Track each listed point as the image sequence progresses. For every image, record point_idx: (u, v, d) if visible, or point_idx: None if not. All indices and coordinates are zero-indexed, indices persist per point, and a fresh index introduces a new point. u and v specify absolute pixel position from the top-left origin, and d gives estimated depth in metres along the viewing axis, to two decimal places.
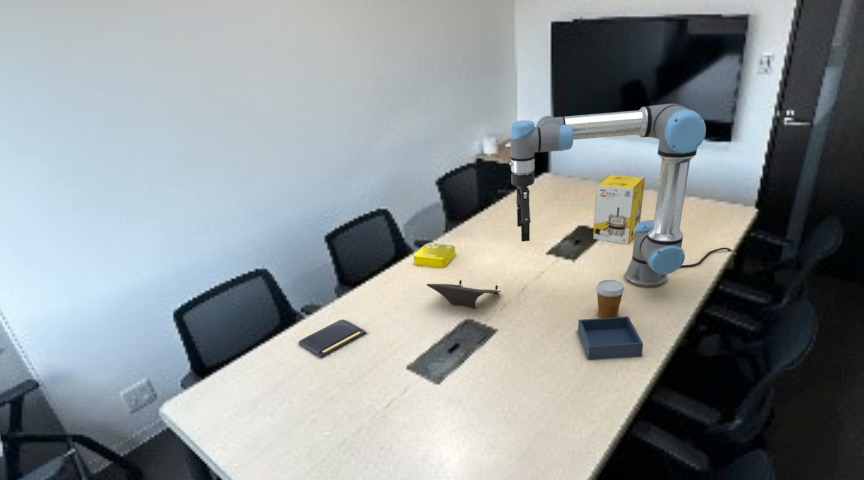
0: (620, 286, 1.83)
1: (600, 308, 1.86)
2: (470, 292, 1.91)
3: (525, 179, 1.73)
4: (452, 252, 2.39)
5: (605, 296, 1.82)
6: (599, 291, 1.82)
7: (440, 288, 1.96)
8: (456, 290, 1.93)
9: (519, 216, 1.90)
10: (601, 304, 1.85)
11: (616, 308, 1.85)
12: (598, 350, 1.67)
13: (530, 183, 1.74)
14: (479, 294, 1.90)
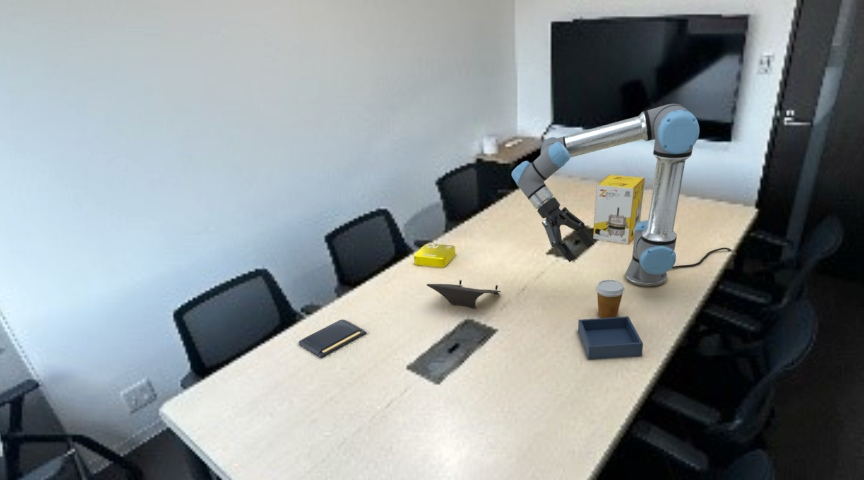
0: (620, 286, 1.83)
1: (600, 308, 1.86)
2: (470, 292, 1.91)
3: (543, 209, 1.81)
4: (452, 252, 2.39)
5: (605, 296, 1.82)
6: (599, 291, 1.82)
7: (440, 288, 1.96)
8: (456, 290, 1.93)
9: (582, 238, 1.89)
10: (601, 304, 1.85)
11: (616, 308, 1.85)
12: (598, 350, 1.67)
13: (550, 209, 1.81)
14: (479, 294, 1.90)
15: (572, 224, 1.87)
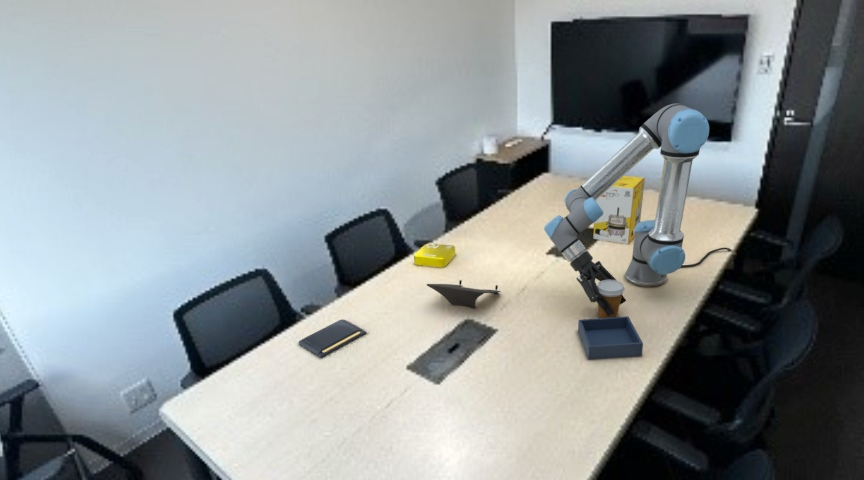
0: (620, 286, 1.83)
1: (600, 308, 1.86)
2: (470, 292, 1.91)
3: (576, 263, 1.84)
4: (452, 252, 2.39)
5: (605, 296, 1.82)
6: (599, 291, 1.82)
7: (440, 288, 1.96)
8: (456, 290, 1.93)
9: None
10: None
11: (616, 308, 1.85)
12: (598, 350, 1.67)
13: (583, 263, 1.83)
14: (479, 294, 1.90)
15: (604, 279, 1.88)
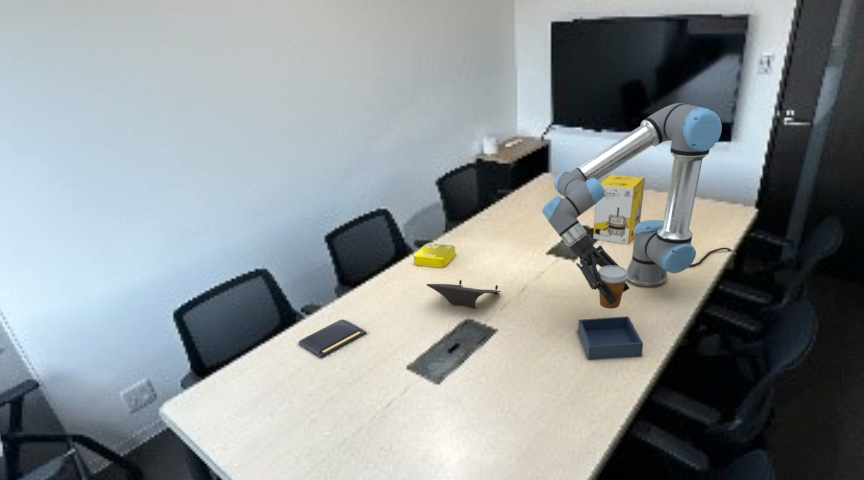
0: (623, 272, 1.70)
1: (601, 296, 1.74)
2: (470, 292, 1.91)
3: (575, 247, 1.71)
4: (452, 252, 2.39)
5: (607, 282, 1.69)
6: (601, 277, 1.70)
7: (440, 288, 1.96)
8: (456, 290, 1.93)
9: None
10: None
11: (619, 296, 1.72)
12: (598, 350, 1.67)
13: (583, 247, 1.70)
14: (479, 294, 1.90)
15: (606, 265, 1.75)
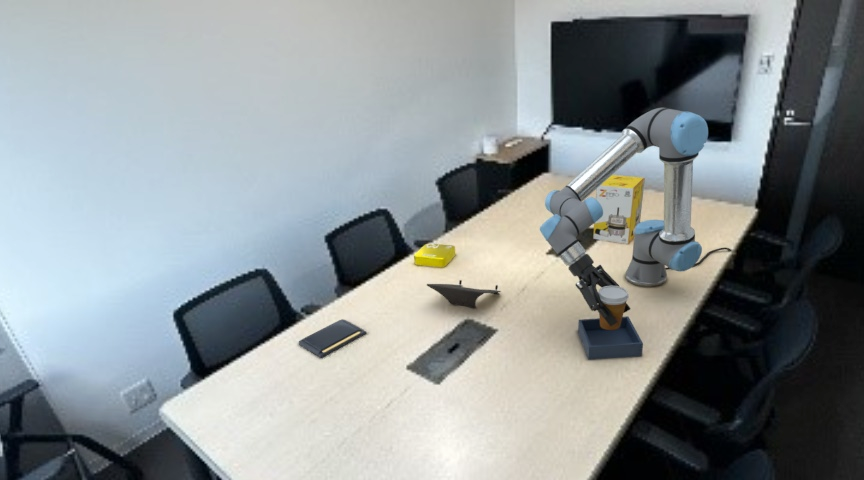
0: (624, 293, 1.65)
1: (601, 317, 1.68)
2: (470, 292, 1.91)
3: (574, 267, 1.65)
4: (452, 252, 2.39)
5: (607, 304, 1.63)
6: (601, 298, 1.64)
7: (440, 288, 1.96)
8: (456, 290, 1.93)
9: None
10: None
11: (619, 317, 1.66)
12: (598, 350, 1.67)
13: (582, 268, 1.64)
14: (479, 294, 1.90)
15: (606, 285, 1.69)
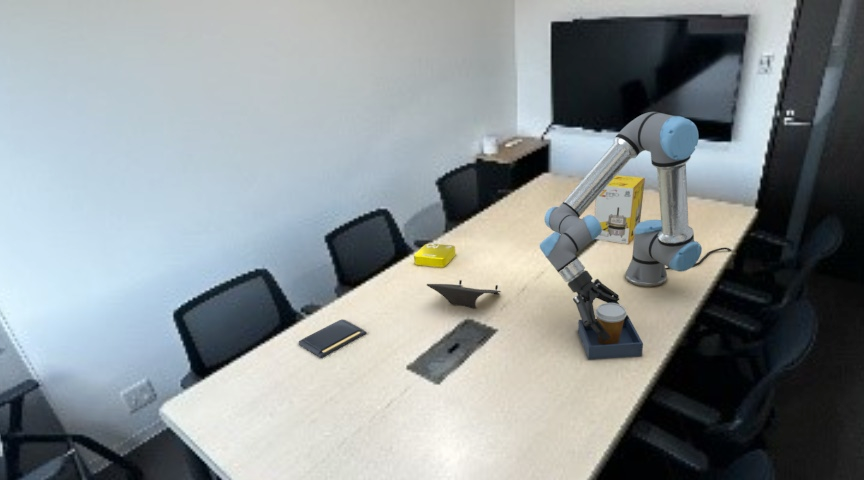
0: (622, 310, 1.68)
1: None
2: (470, 292, 1.91)
3: (574, 284, 1.68)
4: (452, 252, 2.39)
5: (605, 321, 1.67)
6: (599, 316, 1.67)
7: (440, 288, 1.96)
8: (456, 290, 1.93)
9: None
10: None
11: (617, 334, 1.70)
12: (598, 350, 1.67)
13: (582, 284, 1.67)
14: (479, 294, 1.90)
15: (605, 297, 1.73)
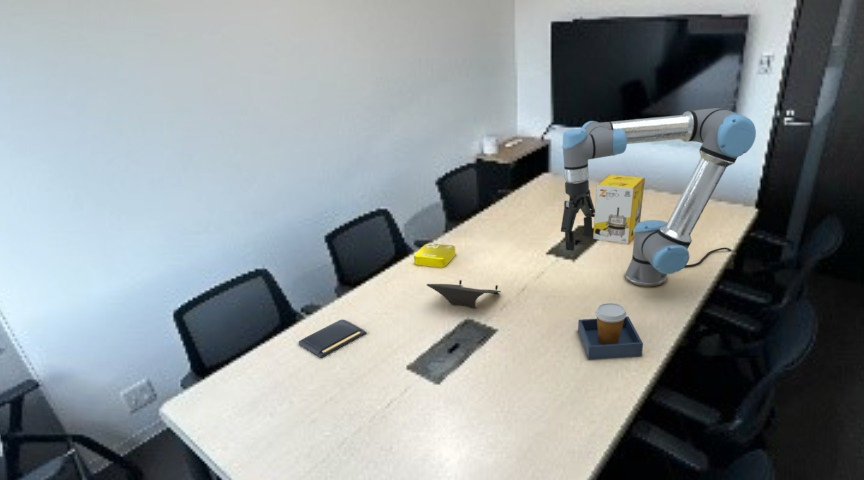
0: (622, 310, 1.68)
1: (600, 334, 1.71)
2: (470, 292, 1.91)
3: (572, 188, 1.71)
4: (452, 252, 2.39)
5: (605, 321, 1.67)
6: (599, 316, 1.67)
7: (440, 288, 1.96)
8: (456, 290, 1.93)
9: (585, 225, 1.86)
10: (601, 330, 1.70)
11: (617, 334, 1.70)
12: (598, 350, 1.67)
13: (578, 192, 1.72)
14: (479, 294, 1.90)
15: (586, 210, 1.81)
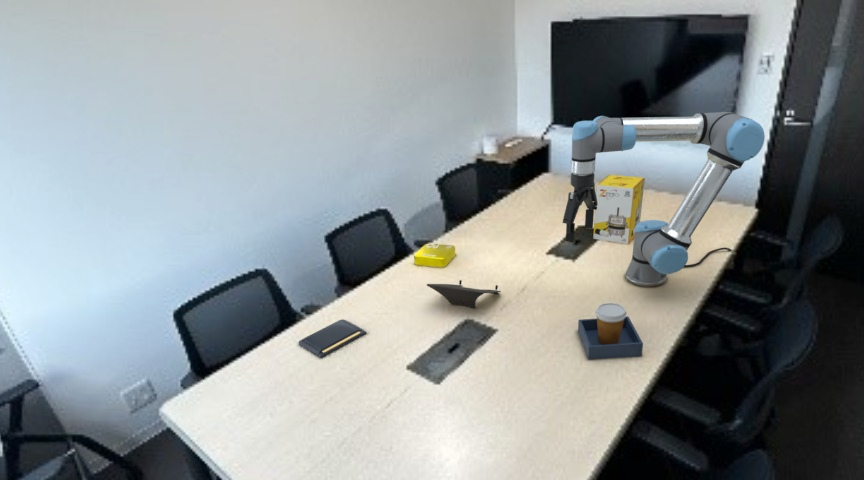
0: (622, 310, 1.68)
1: (600, 334, 1.71)
2: (470, 292, 1.91)
3: (577, 180, 1.72)
4: (452, 252, 2.39)
5: (605, 321, 1.67)
6: (599, 316, 1.67)
7: (440, 288, 1.96)
8: (456, 290, 1.93)
9: (587, 217, 1.87)
10: (601, 330, 1.70)
11: (617, 334, 1.70)
12: (598, 350, 1.67)
13: (583, 185, 1.72)
14: (479, 294, 1.90)
15: (589, 202, 1.82)
